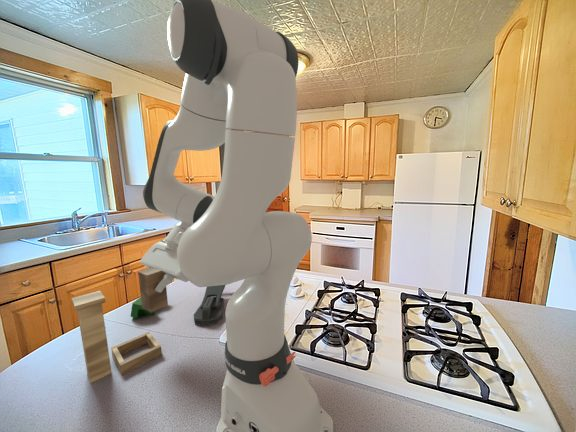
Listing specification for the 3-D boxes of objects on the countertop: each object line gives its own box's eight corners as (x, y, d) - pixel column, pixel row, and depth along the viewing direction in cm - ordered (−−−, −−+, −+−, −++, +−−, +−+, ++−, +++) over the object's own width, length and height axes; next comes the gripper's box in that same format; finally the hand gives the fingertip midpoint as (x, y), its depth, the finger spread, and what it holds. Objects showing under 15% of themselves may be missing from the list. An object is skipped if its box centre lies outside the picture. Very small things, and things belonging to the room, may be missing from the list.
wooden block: (168, 305, 67) (164, 269, 65) (150, 312, 63) (146, 275, 61) (159, 300, 69) (155, 266, 67) (142, 307, 65) (138, 271, 64)
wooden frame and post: (161, 354, 65) (154, 285, 62) (89, 391, 54) (76, 309, 51) (149, 339, 71) (142, 276, 68) (82, 369, 60) (70, 295, 57)
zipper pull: (230, 274, 101) (219, 305, 77) (231, 289, 102) (220, 325, 78) (208, 275, 101) (189, 307, 76) (209, 290, 102) (191, 326, 77)
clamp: (150, 328, 84) (147, 312, 79) (132, 324, 84) (128, 307, 79) (168, 299, 94) (166, 283, 89) (152, 296, 94) (150, 279, 89)
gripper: (154, 232, 75) (121, 274, 68) (196, 242, 63) (162, 293, 57) (169, 243, 79) (140, 284, 73) (211, 254, 67) (181, 303, 61)
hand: (150, 288), depth 65 cm, fingers closed on wooden block, 4 cm apart
